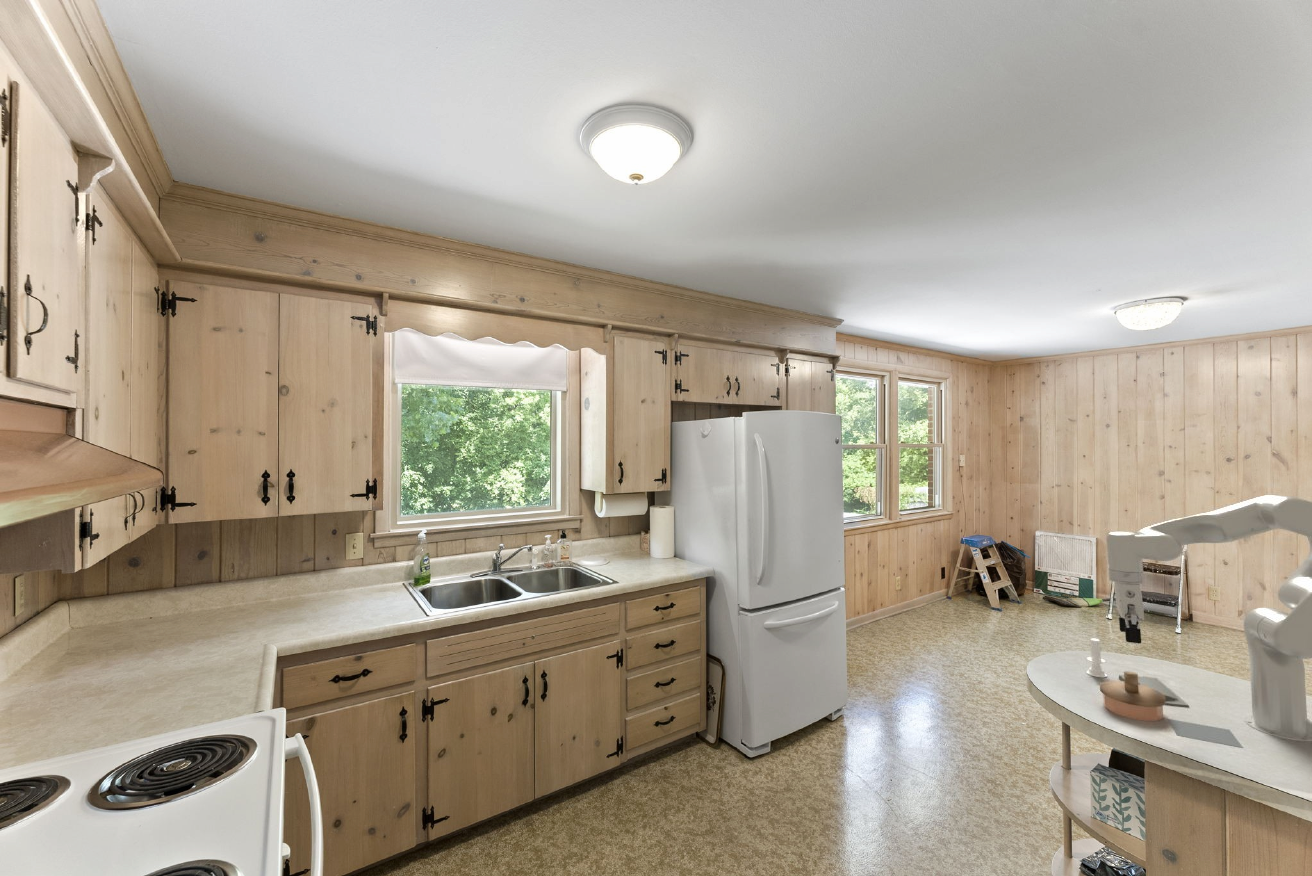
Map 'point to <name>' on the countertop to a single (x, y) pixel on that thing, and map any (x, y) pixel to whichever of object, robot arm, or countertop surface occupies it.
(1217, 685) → the countertop surface
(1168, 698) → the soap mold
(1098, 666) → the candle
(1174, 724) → the mat
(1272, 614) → the robot arm
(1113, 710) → the bowl
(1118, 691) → the lid
